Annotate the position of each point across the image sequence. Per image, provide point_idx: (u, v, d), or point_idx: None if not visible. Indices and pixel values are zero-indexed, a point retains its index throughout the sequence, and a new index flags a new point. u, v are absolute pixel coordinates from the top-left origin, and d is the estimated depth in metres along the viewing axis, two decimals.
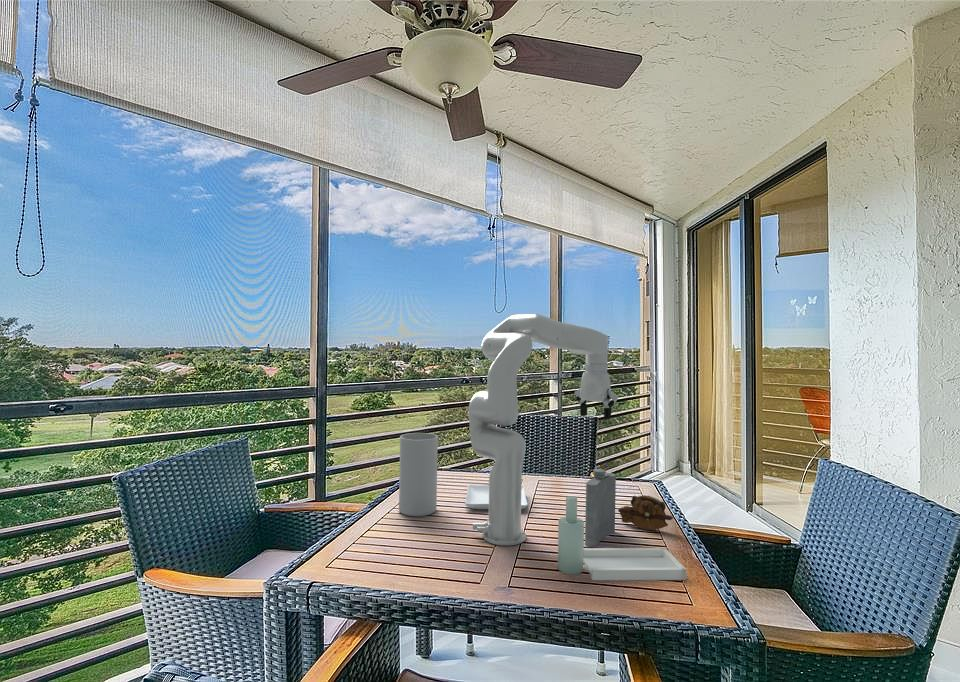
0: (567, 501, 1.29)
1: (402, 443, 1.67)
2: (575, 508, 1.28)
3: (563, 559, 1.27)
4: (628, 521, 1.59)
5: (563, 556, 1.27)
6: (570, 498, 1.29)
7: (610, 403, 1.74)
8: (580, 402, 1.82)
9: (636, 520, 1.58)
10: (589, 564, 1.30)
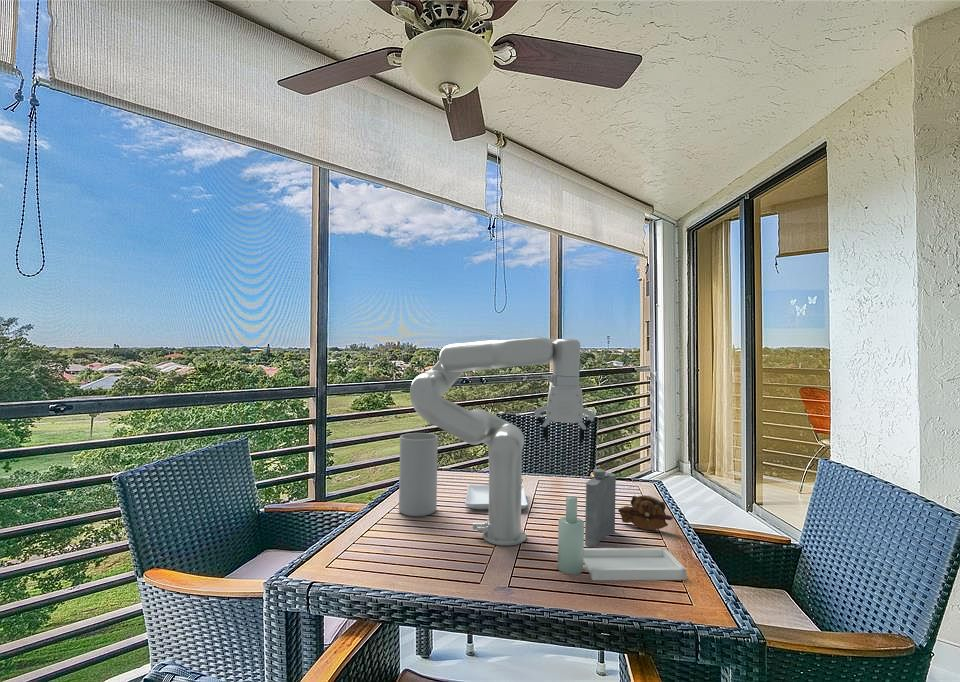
0: (567, 501, 1.29)
1: (402, 443, 1.67)
2: (575, 508, 1.28)
3: (563, 559, 1.27)
4: (628, 521, 1.59)
5: (563, 556, 1.27)
6: (570, 498, 1.29)
7: (587, 423, 1.44)
8: (544, 424, 1.45)
9: (636, 520, 1.58)
10: (589, 564, 1.30)
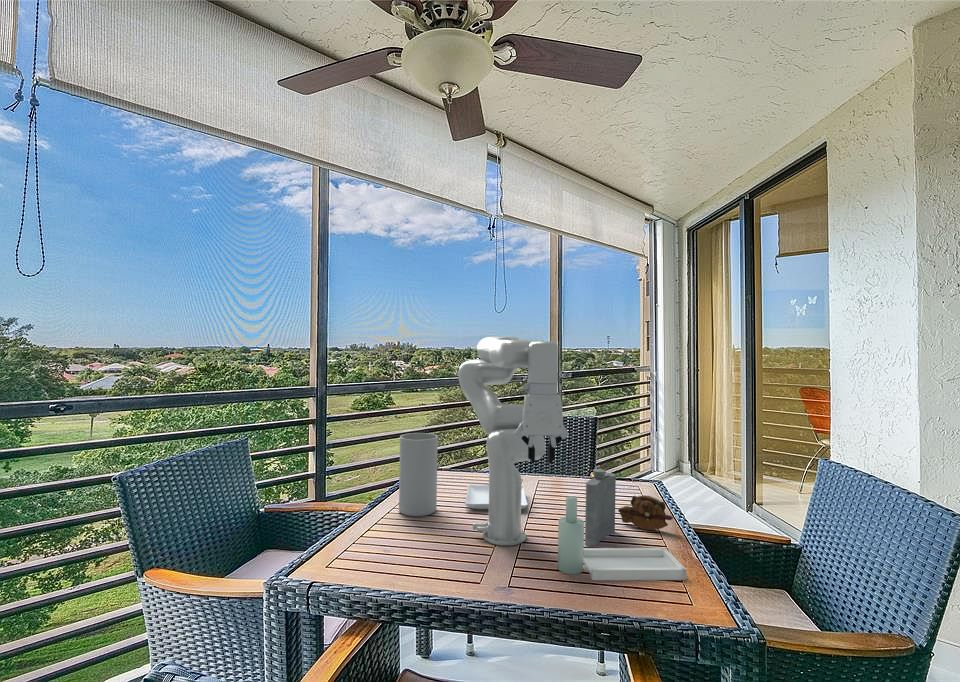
0: (567, 501, 1.29)
1: (402, 443, 1.67)
2: (575, 508, 1.28)
3: (563, 559, 1.27)
4: (628, 521, 1.59)
5: (563, 556, 1.27)
6: (570, 498, 1.29)
7: (557, 440, 1.28)
8: (531, 444, 1.28)
9: (636, 520, 1.58)
10: (589, 564, 1.30)
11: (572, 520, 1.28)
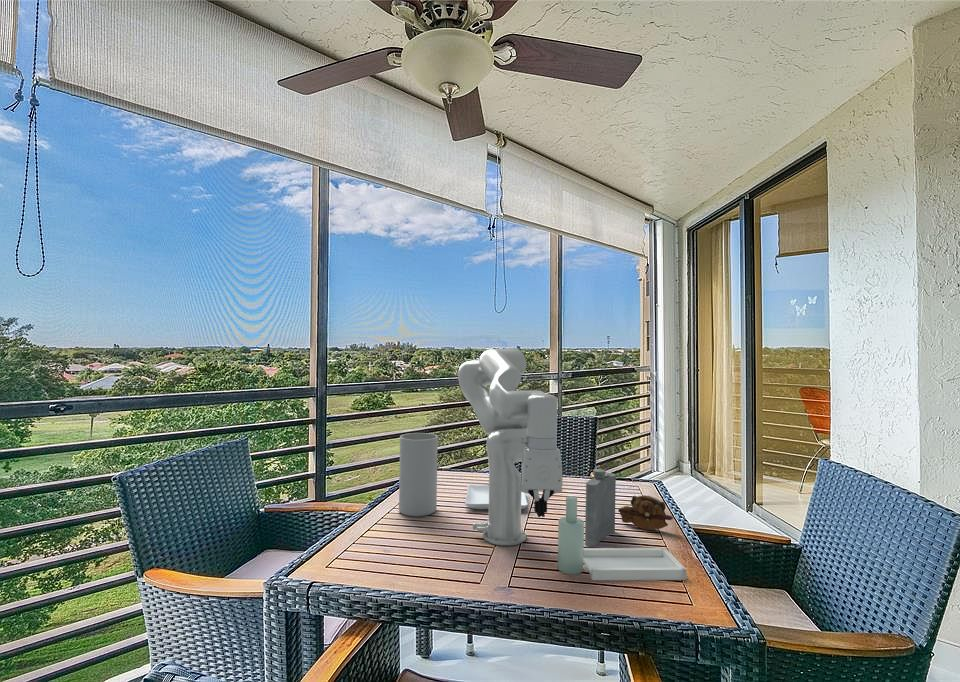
0: (567, 501, 1.29)
1: (402, 443, 1.67)
2: (575, 508, 1.28)
3: (563, 559, 1.27)
4: (628, 521, 1.59)
5: (563, 556, 1.27)
6: (570, 498, 1.29)
7: (549, 494, 1.28)
8: (537, 498, 1.28)
9: (636, 520, 1.58)
10: (589, 564, 1.30)
11: (572, 520, 1.28)
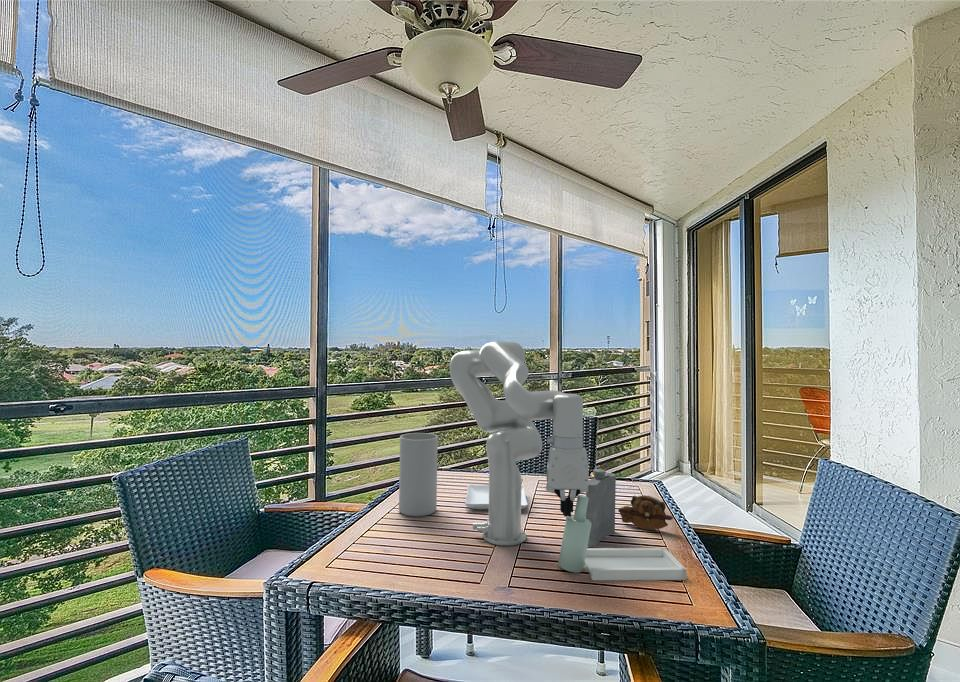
0: (578, 499, 1.29)
1: (402, 443, 1.67)
2: (585, 507, 1.28)
3: (566, 556, 1.27)
4: (628, 521, 1.59)
5: (566, 553, 1.27)
6: (582, 497, 1.29)
7: (576, 493, 1.29)
8: (563, 497, 1.28)
9: (636, 520, 1.58)
10: (589, 564, 1.30)
11: (580, 519, 1.28)
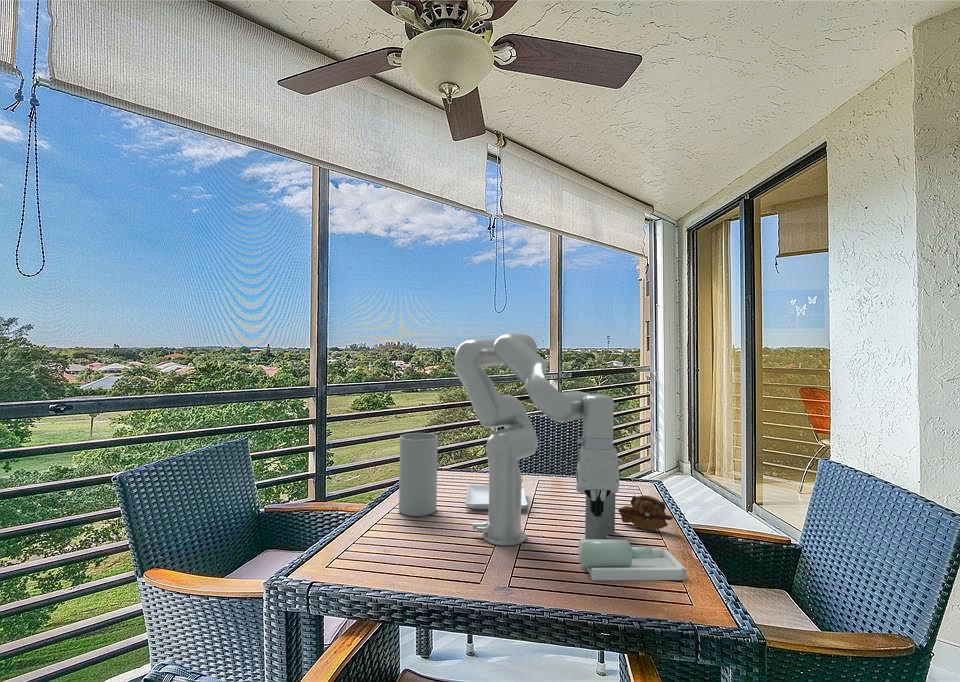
0: (649, 549, 1.30)
1: (402, 443, 1.67)
2: (643, 557, 1.29)
3: (596, 548, 1.27)
4: (628, 521, 1.59)
5: (599, 548, 1.27)
6: None
7: (606, 494, 1.29)
8: (594, 498, 1.28)
9: (636, 520, 1.58)
10: None
11: (632, 555, 1.29)
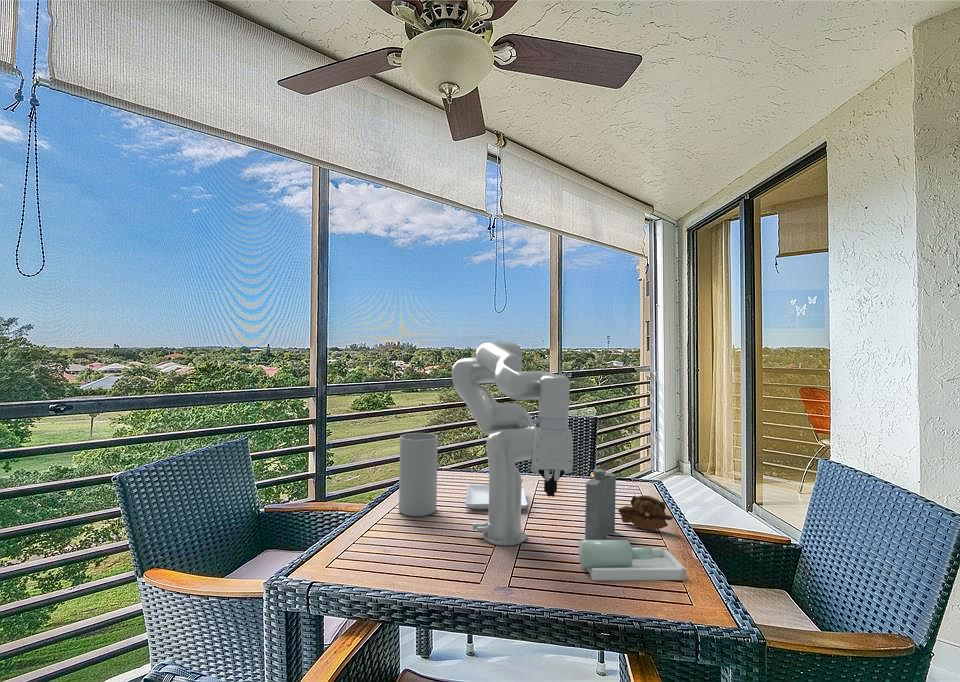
0: (650, 550, 1.29)
1: (402, 443, 1.67)
2: (644, 558, 1.29)
3: (597, 550, 1.27)
4: (628, 521, 1.59)
5: (600, 549, 1.27)
6: None
7: (560, 474, 1.29)
8: (547, 477, 1.28)
9: (636, 520, 1.58)
10: None
11: (633, 556, 1.28)
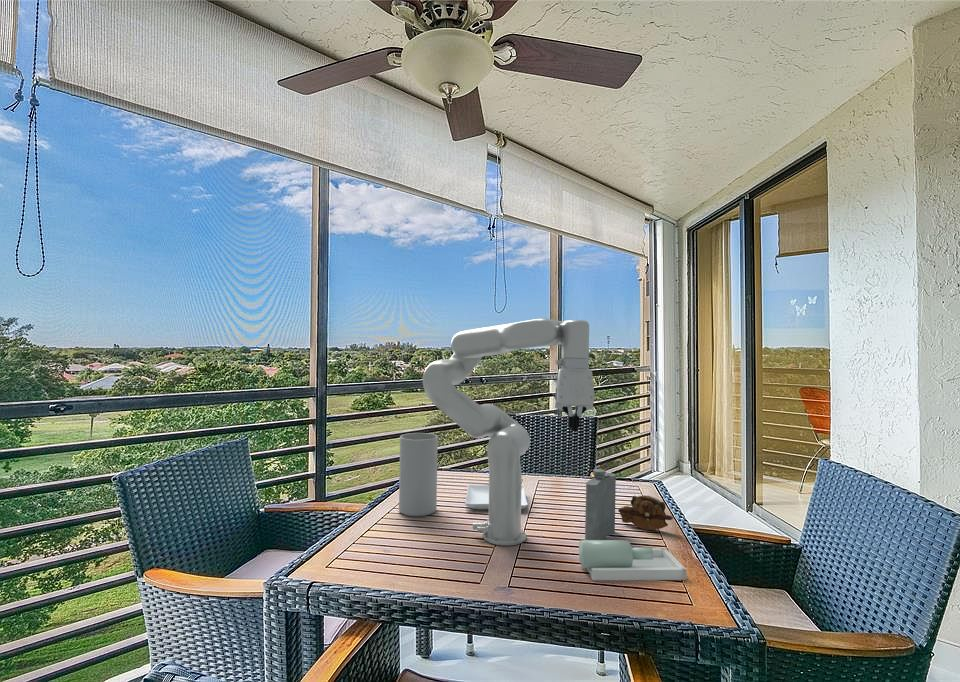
0: (650, 550, 1.29)
1: (402, 443, 1.67)
2: (644, 559, 1.29)
3: (597, 550, 1.27)
4: (628, 521, 1.59)
5: (600, 550, 1.27)
6: None
7: (582, 410, 1.41)
8: (571, 413, 1.40)
9: (636, 520, 1.58)
10: None
11: (633, 556, 1.28)
